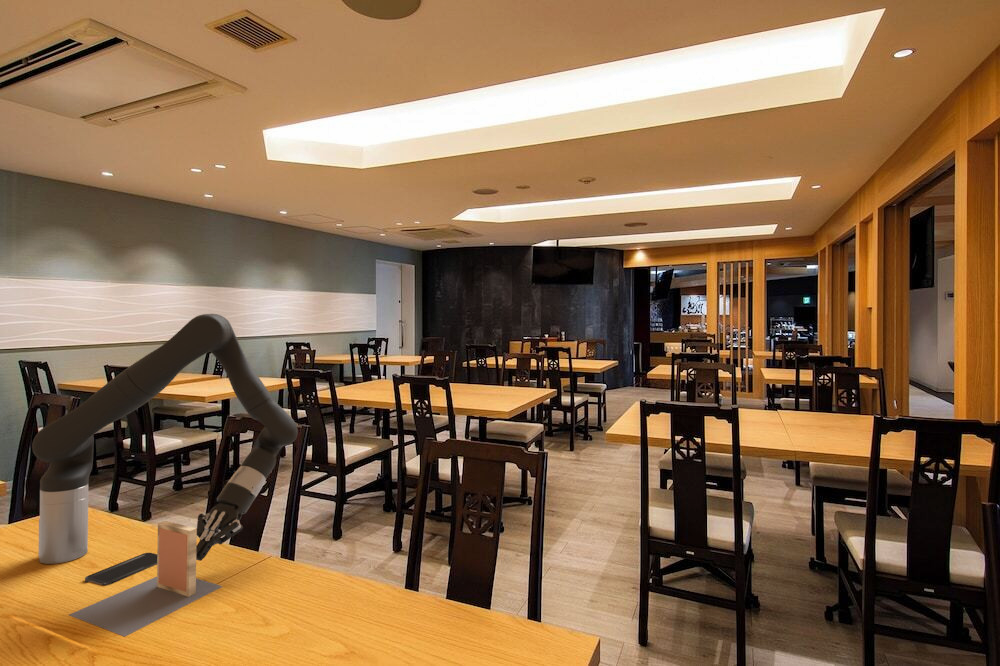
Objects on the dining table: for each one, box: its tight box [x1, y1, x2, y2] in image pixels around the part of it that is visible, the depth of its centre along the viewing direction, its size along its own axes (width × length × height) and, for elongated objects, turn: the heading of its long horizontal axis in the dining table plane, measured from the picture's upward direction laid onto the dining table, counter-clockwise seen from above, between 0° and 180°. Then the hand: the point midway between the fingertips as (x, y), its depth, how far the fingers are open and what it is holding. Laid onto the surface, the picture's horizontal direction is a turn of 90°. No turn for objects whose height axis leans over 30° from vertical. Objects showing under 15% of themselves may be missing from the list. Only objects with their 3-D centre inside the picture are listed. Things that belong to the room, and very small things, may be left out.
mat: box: [68, 576, 224, 637], centre depth 112 cm, size 17×21×1 cm
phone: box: [84, 552, 157, 586], centre depth 125 cm, size 8×1×15 cm
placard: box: [156, 520, 198, 597], centre depth 116 cm, size 10×2×14 cm, turn 67°
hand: (195, 558), depth 120 cm, fingers closed
